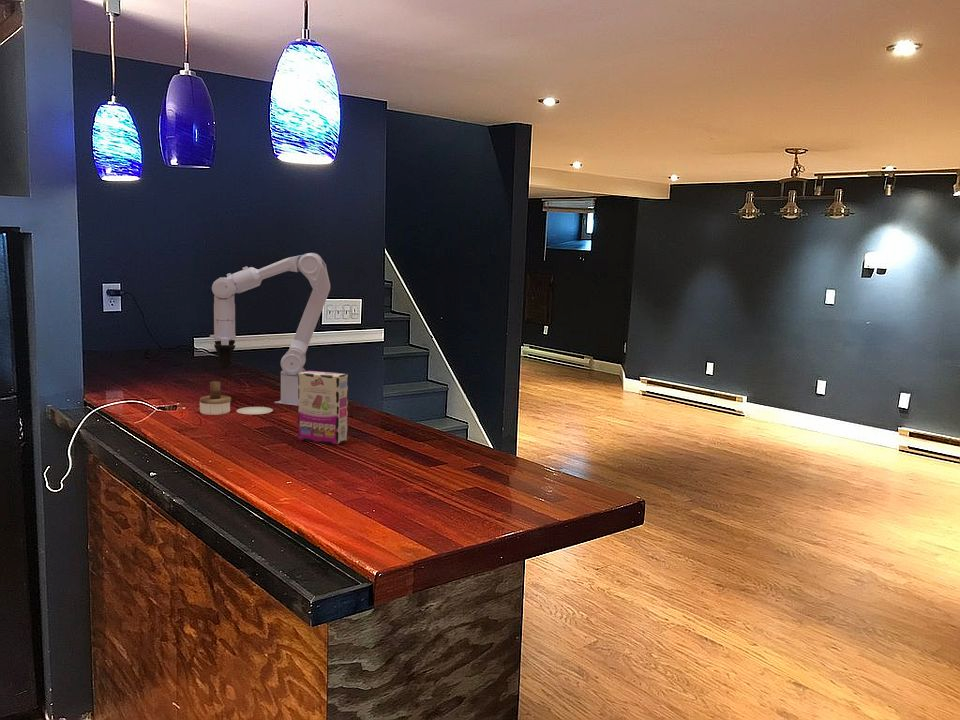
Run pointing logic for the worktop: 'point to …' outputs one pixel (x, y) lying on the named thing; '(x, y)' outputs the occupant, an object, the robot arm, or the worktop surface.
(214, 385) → the lid
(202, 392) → the worktop surface
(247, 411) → the coaster
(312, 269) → the robot arm
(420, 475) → the worktop surface
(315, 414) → the candy bar box
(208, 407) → the bowl
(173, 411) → the worktop surface
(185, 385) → the worktop surface
